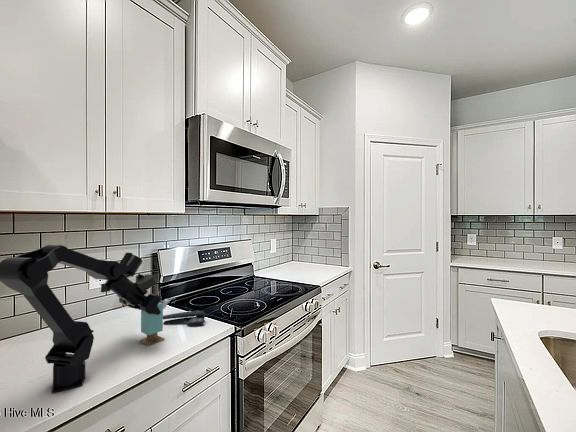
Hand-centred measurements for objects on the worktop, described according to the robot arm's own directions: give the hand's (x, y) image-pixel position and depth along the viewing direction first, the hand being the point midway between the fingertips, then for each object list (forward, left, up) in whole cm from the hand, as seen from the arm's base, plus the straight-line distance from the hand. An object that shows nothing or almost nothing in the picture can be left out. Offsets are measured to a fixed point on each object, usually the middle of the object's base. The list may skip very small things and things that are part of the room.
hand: (155, 312), depth 106 cm
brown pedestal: (-1, 0, -10) cm, 10 cm away
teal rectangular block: (-1, -1, -7) cm, 7 cm away
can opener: (+13, +10, -11) cm, 19 cm away
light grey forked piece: (+6, +25, -10) cm, 27 cm away
